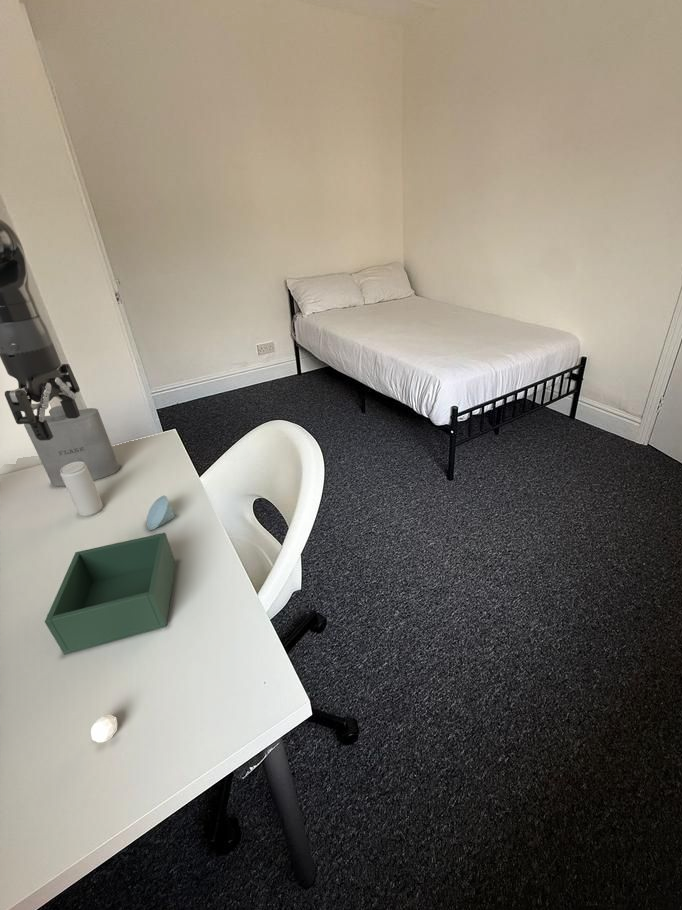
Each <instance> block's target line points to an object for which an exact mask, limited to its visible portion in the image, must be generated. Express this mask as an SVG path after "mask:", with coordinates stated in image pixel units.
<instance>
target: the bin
mask: <svg viewBox="0 0 682 910" xmlns="http://www.w3.org/2000/svg"><path fill="white" fill-rule="evenodd" d="M176 564H177V562H176V559H175V556H174V553H173V550H172V547H171V545H170V541H169V539H168V536H167V533H166V532H160V533H156V534H152V535H148V536H143V537H138V538H134V539H129V540H124V541H119V542H116V543H111V544H110V543H109V544H106V545H102V546H98V547H92V548H88V549H83V550H80V551H79V550H78V551H76V552H75V553H74V555H73V557H72V559H71V561H70V564H69V566H68V568H67V571H66V572H65V575H64V577H63V580H62V582H61V584H60V586H59V588H58V591H57V593H56V595H55V597H54V600H53V602H52V604H51V606H50V608H49V611H48V613H47V615H46V617H45V620H44V623H45V625H46V627H47V629H48V630H49V632H50V634H51V635H52V637H53V639H54V640H55V642H56V644H57V646H58V647H59V649H60V650H61V652H62V654H63V655H64V656H65V655H69V654H72V653H76V652H81V651H84V650H87V649H91V648H94V647H98V646H102V645H105V644H108V643H113V642H116V641H119V640H123V639H127V638H130V637H135V636H137V635H141V634H146V633H149V632H153V631H156V630H159V629H163V628H166V627H167V624H168V623H167V622H168V617H169V610H170V604H171V599H172V598H171V597H172V591H173V585H174V577H175V572H176Z"/></svg>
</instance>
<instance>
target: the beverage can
mask: <svg viewBox="0 0 682 910" xmlns="http://www.w3.org/2000/svg"><path fill="white" fill-rule="evenodd" d="M60 472H61V477H62V479H63V481H64V483H65V485H66V486H65V487H66V490H67V492H68V494H69V497H70V498H71V501H72V503H73V505H74V507H75V509H76V512H77V514H78V515H79V516H81V517H86V518H87V517H92V516H94V515H96V514H98V513H99V512H100V511H101V510H102V509H103V505H104V503H103V501H102V499H101V497H100V494H99V492H98V490H97V488H96V485H95V482H94V480H92V478H91V475H90V473H89V470H88V468H87V466H86V465H85V463H84V462H73V463H70V464H68V465H65V466H64V467H62V468H61V470H60Z"/></svg>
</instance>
